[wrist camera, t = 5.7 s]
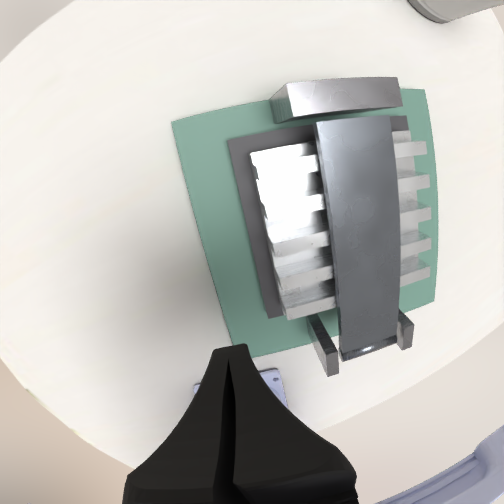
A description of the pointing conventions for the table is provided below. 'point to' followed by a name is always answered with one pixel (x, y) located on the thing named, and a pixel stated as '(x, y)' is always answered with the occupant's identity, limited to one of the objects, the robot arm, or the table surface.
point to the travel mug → (452, 8)
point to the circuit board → (250, 218)
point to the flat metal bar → (362, 229)
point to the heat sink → (314, 204)
